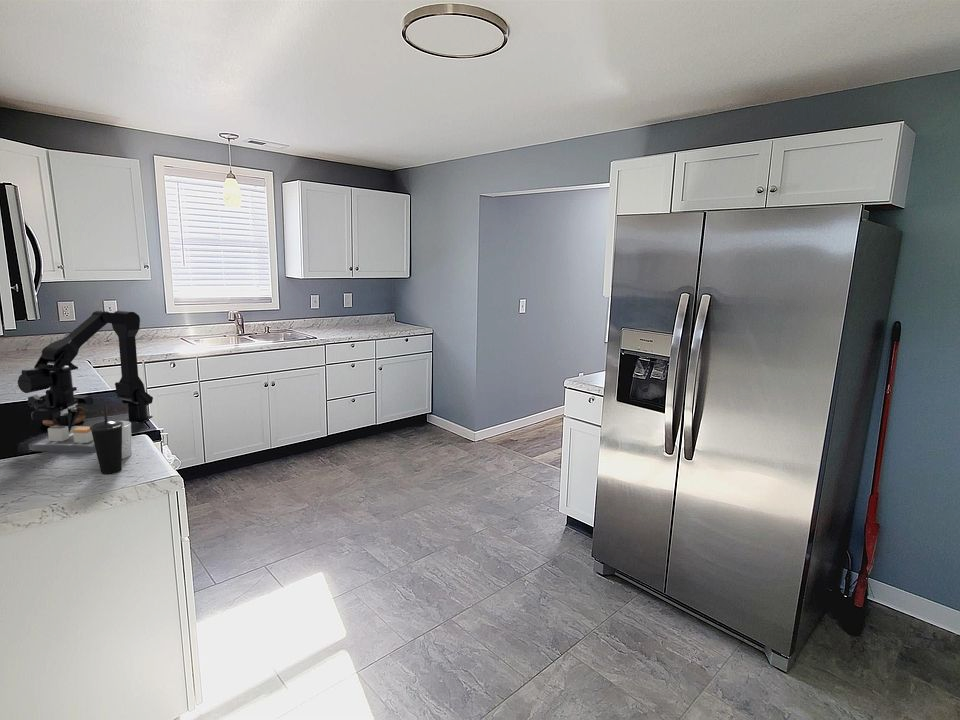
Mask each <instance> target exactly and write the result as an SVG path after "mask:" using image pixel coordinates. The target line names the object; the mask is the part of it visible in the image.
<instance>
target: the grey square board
mask: <svg viewBox="0 0 960 720" xmlns="http://www.w3.org/2000/svg"><path fill="white" fill-rule="evenodd" d="M90 426H91V425H90ZM90 426H89V425H88V426H86V425H85V426H84V425H73V426H72V428H71V430H70V432H69V439H67V440H64V441H49V436H48V437H46V438H44V439H41V440H39V441H37V442H35V443H32V444H31V450H32V452H47V453H49V452H52V453H54V452H55V453H87V454H90V453H91V454H93V453H96V449H95V444H94V440H92V441H90V442H88V443H76V442H74V436H73V429H76V428H78V427H90Z"/></svg>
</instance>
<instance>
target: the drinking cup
mask: <svg viewBox="0 0 960 720" xmlns="http://www.w3.org/2000/svg"><path fill="white" fill-rule="evenodd" d="M102 410H103V411H102V412H103V417H104V418H103V420H101V421H98V422H96V423H93V424H92V425H90V430H91V431H92V436H93V440H94V444H95V449H96V451H95V453H96V458H97V461H98V465H99V470H100V473H101V474H102V475H107V476H108V475H114V474H115V475H116V474H118V473H120V472H121V471H122V467H123V466H122V464H123V463H122V461H123V459H122V426H123V423H122V422H120V421H121V420H116V419H115V420H114V419H108V412H107V403H106V402H103V403H102Z"/></svg>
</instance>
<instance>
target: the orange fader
mask: <svg viewBox="0 0 960 720" xmlns="http://www.w3.org/2000/svg"><path fill="white" fill-rule="evenodd" d="M73 436H74V442H76V443H88V442H90V441H92V440H93V436H92V431H91V430H90V427H78V428H76V429H73Z"/></svg>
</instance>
